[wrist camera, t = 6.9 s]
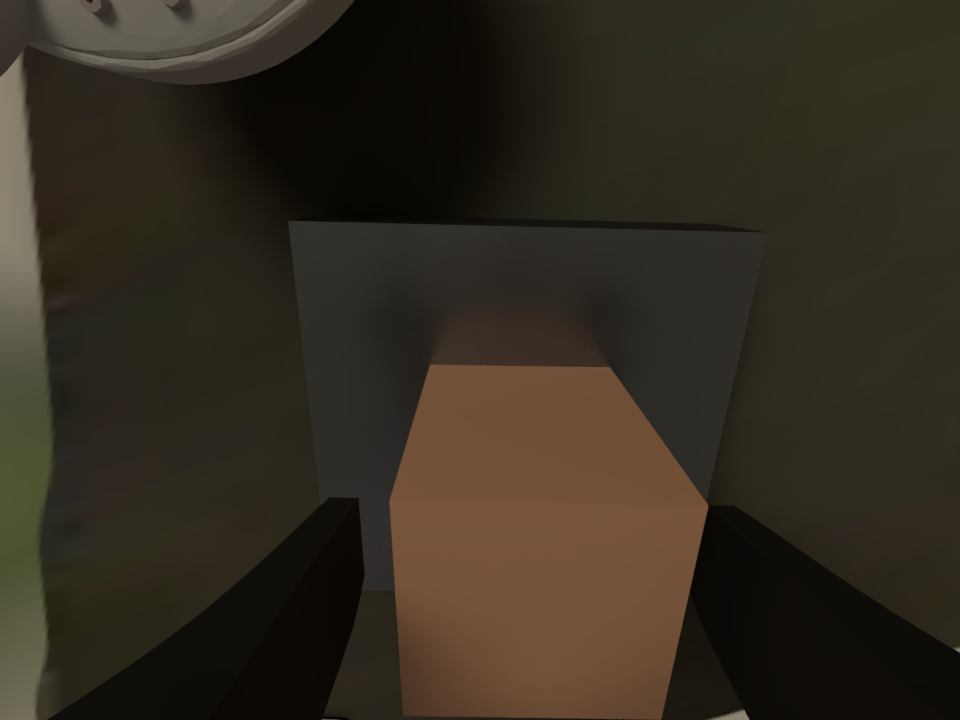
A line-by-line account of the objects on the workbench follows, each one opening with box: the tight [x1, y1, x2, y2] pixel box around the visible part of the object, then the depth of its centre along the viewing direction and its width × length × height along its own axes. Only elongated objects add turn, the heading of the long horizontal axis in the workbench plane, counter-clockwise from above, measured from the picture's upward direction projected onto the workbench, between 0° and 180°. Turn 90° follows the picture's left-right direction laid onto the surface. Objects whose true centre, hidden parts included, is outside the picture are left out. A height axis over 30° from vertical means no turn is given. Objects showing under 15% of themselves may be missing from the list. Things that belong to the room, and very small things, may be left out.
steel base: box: [288, 214, 768, 591], centre depth 15 cm, size 12×12×3 cm
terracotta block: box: [389, 365, 708, 720], centre depth 11 cm, size 5×5×6 cm
